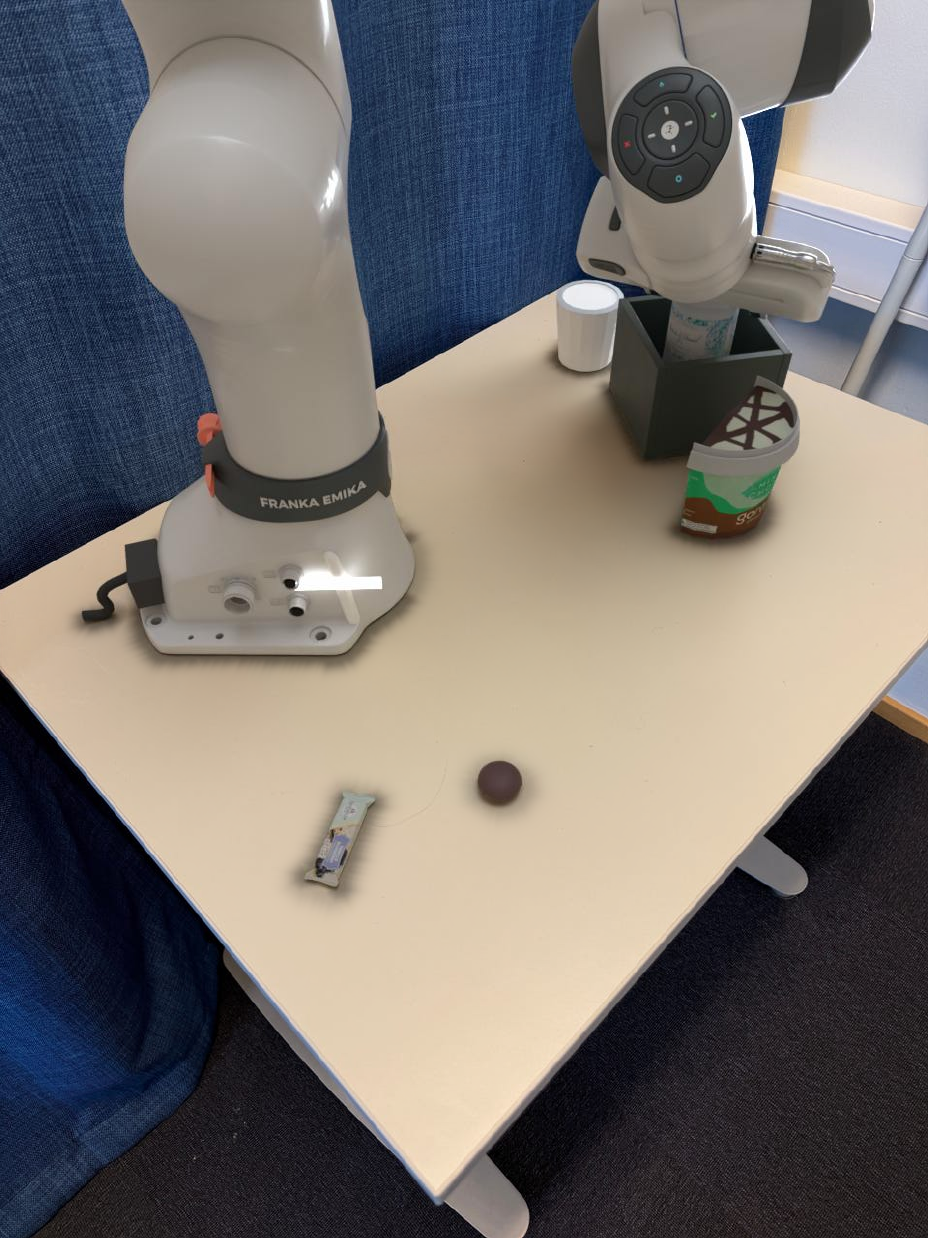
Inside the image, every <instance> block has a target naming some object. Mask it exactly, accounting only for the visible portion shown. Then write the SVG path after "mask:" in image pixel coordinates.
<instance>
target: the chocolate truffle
mask: <svg viewBox="0 0 928 1238" xmlns="http://www.w3.org/2000/svg"><path fill="white" fill-rule="evenodd" d="M477 785H478V786H477V787H478V789H479V791H480V792H481V793H482V795H484V796H485V797H486V798H487V799H489V800H492V801H496V802H504V801H508V800H510V799H513V798H514V797H516V796H517V795H518V794H519V792H520V790H521V789H522V785H523V777H522V774H521V771H520V770H519V769H518V768H517V766H516V765H514V764H513V763H511V762H509V761H505V760H494V761H491V762H489V763H486V764H485V765H484V766H483V767H482V768H481V769H480V770H479V773H478V775H477Z"/></svg>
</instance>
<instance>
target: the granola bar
mask: <svg viewBox="0 0 928 1238" xmlns="http://www.w3.org/2000/svg"><path fill="white" fill-rule="evenodd" d="M341 795H342V800H341V803H340V804H339V807H338V809H337V811H336V813H335V816H334V817H333V820H332V822H331V824H330V827H329V829H328V831H327V833H326V836H325V837H324V840H323V842H322V845H321V847H320V849H319V852H318V854H317V856H316V859H315V861H314V863H313V865H312V869H311V870H309V871H307V872H306V873H305V876H304V880H309V881H310V880H311V881H315V882H319V883H322V884H325V885H328V886H330V887H337V886H338V884H339V883H340V881H339V879H340V876H341V874H342V872H343V870H344V867H345V866H346V863H347V860H348V859H349V856H350V853H351V851H352V849H353V846H354V844H355V841H356V839H357V837H358V834H359V832H360V829H361V827H362V824H363V822H364V821H365V818H366V816H367V812H368V808H369V807H370V806H371V805H373V803H375V801H376V799H377V797H375V796H373V795H368V794H358V793H357V794H356V793H354V792H353V791H352V792H351V791H348V790H347V791H346V790H343V791H342V793H341Z"/></svg>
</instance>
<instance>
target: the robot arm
mask: <svg viewBox="0 0 928 1238" xmlns="http://www.w3.org/2000/svg"><path fill="white" fill-rule="evenodd" d="M120 1H121V4H122V5H123V7H124V9H125V11H126V13H127V16H128V18H129V20H130V22H131V24H132V26H133V29H134V31H135V33H136V36H137V38H138V41H139V44H140V47H141V50H142V53H143V55H144V59H145V64H146V67H147V73H148V81H149V98H148V100H147V102H146V104H145V106H144V107H143V110H142V112H141V113H140V115H139V117H138V119H137V121H136V123H135V125H134V127H133V129H132V131H131V134H130V136H129V139H128V142H127V146H126V151H125V156H124V169H123V191H122V193H123V215H124V216H123V217H124V227H125V233H126V237H127V240H128V243H129V247H130V249H131V252H132V254H133V256H134V259H135V261H136V262H137V264H138V266H139V268H140V269H141V271H142V272H143V274H144V276H146V278H147V279H148V281H149V282H150V283H151V284H152V285H153V287H155V288H156V289H157V290H158V292H160V293H161V294H162V295H163V296H164V297H165V298H166V299H168V300H169V301H170V302H171V303H173V304H174V305H176V307H177V309H178V310H179V312H180V315H181V316H182V318H183V320H184V322H185V324H186V327H187V328H188V330H189V332H190V334H191V335H192V338H193V340H194V343H195V345H196V347H197V349H198V352H199V354H200V356H201V359H202V363H203V366H204V369H205V373H206V377H207V380H208V384H209V387H210V390H211V395H212V398H213V402H214V405H215V408H216V412H217V413H212V412H208V413H204V414H202V415H201V416H200V417H199V419H198V420H197V433H196V434H197V435H196V438H197V441H198V443H199V444H200V445H201V446H202V449H201V455H200V456H201V457H200V459H201V465H202V470H203V473H204V474H203V475H202V476H200V477H199V478H198V479H196V480H195V481H194V482H192V483H191V484H190V485H189V486H187V487H186V488H184V489H183V490H181V491H180V492H179V493H178V494H176V495H175V496H174V497H173V498H172V499H171V500H170V502H169V503H168V505H167V507H166V510H165V512H164V514H163V516H162V517H163V518H162V520H161V524H160V527H159V531H158V537H157V538H156V537H155V538H150V539H145V540H141V541H140V540H139V541H135V542H131V543H126V544H124V556H125V570H126V571H124V572H122V573H119V574H118V575H116V576H114V577H111V578H110V579H107V580H106V581H105V582H104V583H103V584H101V585H100V586H99V588H98V589H97V590H96V600H97V602H98V603H99V604H100V606H101V607H102V608H100V609H99V608H98V609H86V610H85V609H84V610H82V611H81V617H82V620H83V621H84V622H86V621H99V620H105V619H107V618H109V617H111V616H112V615H113V614H114V613H115V609H116V608H115V607H116V606H115V603H114V601H113V600H112V599H111V598H110V597H109V594H110V592H112V591H114V590H115V589H117V588H119V587H122V586H124V585H125V584H127V587H128V588H129V591H130V594H131V595H132V598H133V600H134V602H135V605H136V607H137V609H138V610H139V613H140V618H141V622H142V626H143V630H144V631H145V635H146V636H147V638H148V640H149V642H150V643H151V644H152V646H153V647H154V649H156V650H157V651H158V652H159V653H161V654H168V655H268V656H269V655H270V656H271V655H278V656H280V655H283V656H285V655H286V656H287V655H288V656H289V655H290V656H292V655H294V656H299V655H301V656H337V655H342V654H344V653H346V652H348V651H349V650H350V649H351V648H352V647H353V646H354V645H355V644H356V642H357V641H358V640H359V638H360V637H361V636H362V633H364V631H365V629H366V628H367V627H368V626H369V625H370V624H372V623H373V622H375V621H376V620H377V619H379V618H380V617H382V616H383V615H385V614H386V613H388V612H389V611H390V610H391V609H392V608H393V607H395V606H396V605H397V604H398V603H399V602H400V601H401V599H402V598H403V597H404V596H405V594H406V593H407V591H408V590H409V587H410V586H411V584H412V582H413V578H414V575H415V570H416V559H415V554H414V551H413V548H412V546H411V544H410V542H409V540H408V538H407V536H406V534H405V532H404V530H403V528H402V525H401V522H400V520H399V517H398V514H397V511H396V507H395V504H394V501H393V497H392V480H393V465H392V455H391V446H390V439H389V433H388V430H387V429H386V425H385V420H384V417H383V415H382V413H381V412H380V410H379V408H378V400H377V391H376V379H375V372H374V364H373V354H372V345H371V337H370V328H369V322H368V319H367V317H366V316H367V315H365V311H364V306H363V302H362V295H361V290H360V287H359V286H360V285H359V280H358V276H357V270H356V263H355V257H354V253H353V245H352V238H351V233H350V224H349V223H350V222H349V221H350V220H349V210H348V209H349V208H348V206H349V205H348V204H349V203H348V182H349V181H348V178H349V177H348V175H349V174H348V173H349V155H350V146H351V145H350V143H351V131H352V121H353V120H352V118H353V113H352V112H353V111H352V101H351V95H350V90H349V84H348V78H347V73H346V68H345V63H344V58H343V53H342V47H341V46H342V45H341V43H340V37H339V32H338V26H337V21H336V16H335V11H334V7H333V2H332V0H120ZM875 3H876V2H875V0H595V2H594V3H593V5H592V6H591V8H590V10H589V11H588V14H587V15H586V17H585V19H584V21H583V23H582V25H581V28H580V30H579V33H578V36H577V38H576V41H575V43H574V46H573V49H572V53H571V58H570V60H571V61H570V63H571V64H570V65H571V66H570V67H571V68H570V69H571V82H572V91H573V98H574V104H575V108H576V113H577V117H578V121H579V125H580V128H581V132H582V135H583V138H584V141H585V144H586V147H587V149H588V152H589V155H590V157H591V160H592V162H593V165H594V167H595V168H596V169H597V170H598V171H599V172H600V173H601V174H602V175H603V176H601V177H600V178H599V180H598V181H597V184H596V186H595V188H594V191H593V193H592V196H591V198H590V200H589V203H588V206H587V208H586V212H585V214H584V218H583V221H582V223H581V224H582V225H581V227H580V233H579V237H578V241H577V245H576V251H575V256H576V259H577V263H578V265H579V267H580V268H581V270H582V271H583V272H584V273H585V274H587V275H590V276H592V277H595V278H599V279H603V280H609V281H612V282H613V281H614V282H619V283H623V284H626V285H627V284H628V285H632V286H636V287H639V288H642V289H643V290H644V293H645V294H647V295H655V296H663V297H665V298H668V299H670V300H673V301H677V302H682V303H696V302H702V301H709V302H714V303H718V304H723V305H727V306H732V307H737V308H741V309H746V310H749V316H752V317H756V318H760V319H764V320H766V319H767V320H768V316H773V317H778V318H783V319H788V320H792V321H797V322H801V323H813V322H816V321H819V320H820V319H821V318H822V315H823V312H824V310H825V307H826V304H827V303H828V299H829V296H830V293H831V289H832V286H833V284H834V282H835V281H836V274H837V272H836V271H837V269H836V266H835V265H834V264H831V262H830V260H829V257H828V256H827V255H826V253H825V252H824V251H822V250H821V249H819V248H817V247H814V246H811V245H808V244H805V243H800V242H795V241H790V240H785V239H780V238H775V237H769V236H763V235H758V230H757V229H758V228H757V214H756V212H757V211H756V203H755V197H754V182H755V181H754V168H753V160H752V154H751V149H750V145H749V140H748V136H747V133H746V129H745V126H744V123H743V121H742V119H743V118H746V117H749V116H752V115H755V114H758V113H761V112H763V111H767V110H769V109H774V108H777V109H780V108H785V107H789V106H792V105H797V104H801V103H807V102H810V101H815V100H818V99H819V100H820V99H822V98H826V97H827V98H828V97H830V96H832V95H833V93H834V92H835V91H836V90H837V89H838V88H839V87H840V86H841V84H842V83H843V82H844V81H845V79H846V78H847V77H848V76H849V75H850V73H851V72H852V71H853V69H854V68H855V67H856V65H858V62H859V61H860V60H861V58H862V57H863V55H864V54H865V52H866V51H867V49H868V47H869V46H870V44H871V42H872V38H873V37H872V34H873V33H872V32H873V26H874V22H875Z"/></svg>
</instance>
